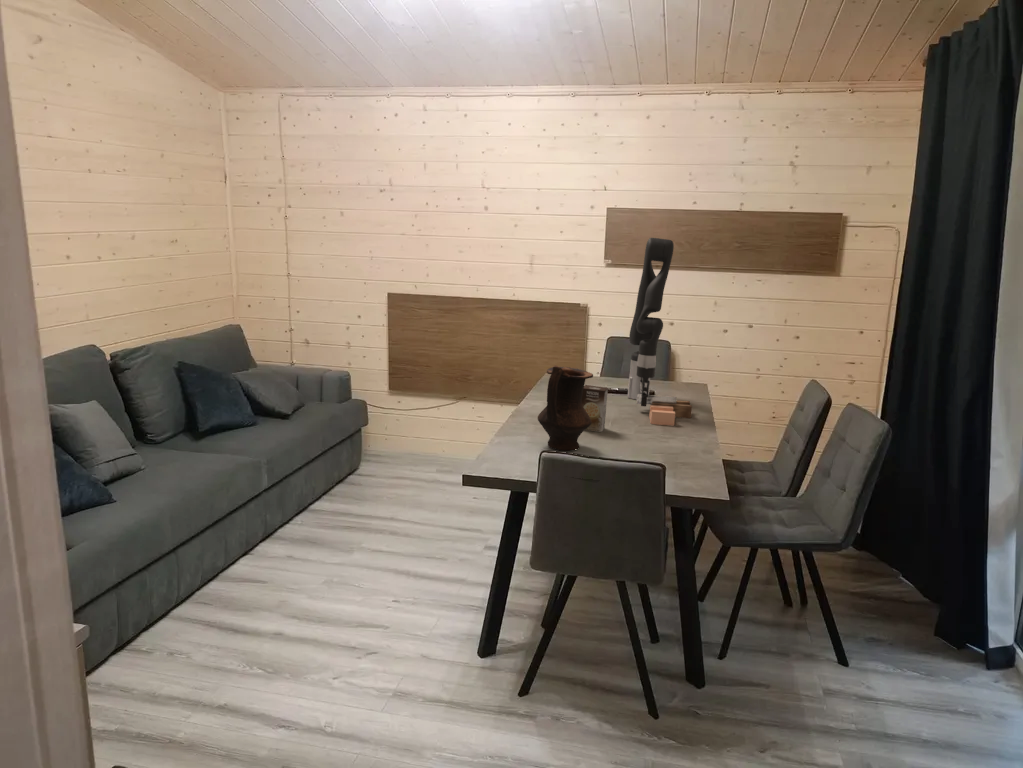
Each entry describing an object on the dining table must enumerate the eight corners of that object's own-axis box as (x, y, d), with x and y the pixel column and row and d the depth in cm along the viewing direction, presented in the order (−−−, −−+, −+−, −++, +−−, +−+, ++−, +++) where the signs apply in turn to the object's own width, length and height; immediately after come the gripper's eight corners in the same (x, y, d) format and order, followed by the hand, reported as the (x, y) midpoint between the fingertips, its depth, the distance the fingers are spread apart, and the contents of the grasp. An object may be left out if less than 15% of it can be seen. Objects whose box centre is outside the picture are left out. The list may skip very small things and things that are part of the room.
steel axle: (636, 404, 302) (637, 395, 301) (636, 402, 306) (637, 392, 305) (675, 407, 300) (676, 398, 299) (675, 405, 304) (676, 395, 303)
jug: (551, 435, 264) (556, 354, 257) (598, 445, 255) (604, 361, 249) (522, 449, 246) (527, 362, 239) (572, 460, 237) (578, 370, 231)
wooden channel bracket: (651, 415, 300) (652, 403, 298) (649, 409, 308) (650, 398, 307) (690, 418, 298) (691, 406, 297) (688, 412, 306) (689, 401, 305)
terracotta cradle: (650, 423, 286) (651, 411, 285) (649, 416, 297) (650, 405, 296) (674, 425, 285) (675, 413, 284) (671, 418, 296) (672, 406, 295)
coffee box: (577, 429, 274) (580, 387, 271) (581, 425, 280) (584, 384, 276) (601, 432, 271) (604, 390, 268) (605, 428, 277) (608, 387, 274)
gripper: (636, 361, 307) (633, 399, 311) (638, 367, 293) (634, 407, 297) (654, 362, 307) (651, 400, 310) (656, 369, 293) (653, 408, 296)
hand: (643, 403), depth 303 cm, fingers open, 7 cm apart
